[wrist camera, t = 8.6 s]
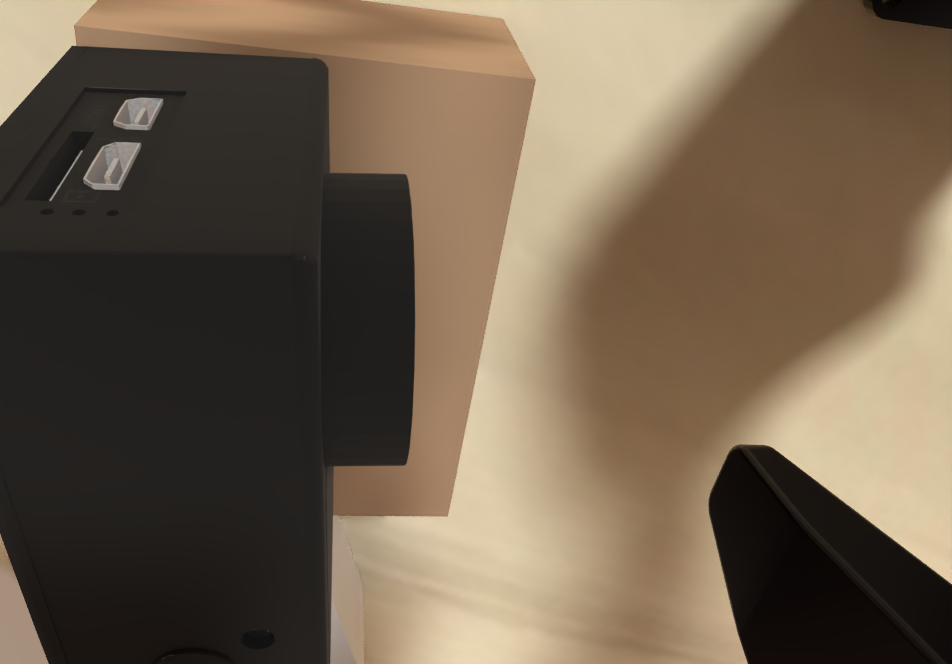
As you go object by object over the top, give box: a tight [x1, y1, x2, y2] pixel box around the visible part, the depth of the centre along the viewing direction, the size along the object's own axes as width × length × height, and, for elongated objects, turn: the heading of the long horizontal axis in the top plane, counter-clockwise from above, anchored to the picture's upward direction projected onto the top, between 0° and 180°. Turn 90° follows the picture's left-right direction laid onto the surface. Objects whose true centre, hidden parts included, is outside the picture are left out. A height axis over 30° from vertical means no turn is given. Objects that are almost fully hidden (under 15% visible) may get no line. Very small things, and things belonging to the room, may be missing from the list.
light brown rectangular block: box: [74, 0, 536, 516], centre depth 19 cm, size 8×12×4 cm, turn 171°
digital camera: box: [0, 46, 415, 664], centre depth 14 cm, size 10×5×7 cm, turn 175°
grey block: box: [330, 515, 364, 664], centre depth 27 cm, size 5×5×4 cm
